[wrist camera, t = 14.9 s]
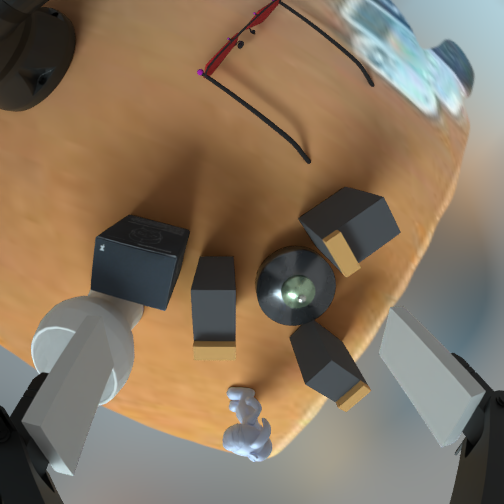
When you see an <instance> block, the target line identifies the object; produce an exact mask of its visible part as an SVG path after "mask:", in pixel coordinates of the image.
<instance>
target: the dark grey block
mask: <svg viewBox="0 0 504 504" xmlns="http://www.w3.org/2000/svg"><path fill="white" fill-rule="evenodd" d="M289 338H290V341H291V344H292V347H293V350H294V353H295V356H296V359H297V361H298V364H299V367H300V370H301V373H302V376H303V379H304V382H305V384H306V385H307V386H309V387H311V388H312V389H314V390H316V391H317V392H319V393H321V394H322V395H324V396H326V397H328V398H329V399H331V400H333V401H334V402H336V404H337V407H338V408H340V409H341V410H343V411H345V412H347V411H348V410H349V409H350V408H351V407H353V406H354V405H355V404H356V403H357V402H359V401H360V400H361V399H362V398H363V397H364V396H366V395H367V394H368V393H369V392H370V391H371V390H370V388H369V386H368V384H367V383H366V381H365V379H364V377H363V376H362V374H361V372H360V371H359V369H358V367H357V366H356V364H355V362H354V360H353V359H352V357H351V355H350V354H349V352H348V350H347V349H346V347H345V345H344V344H343V342H342V341H340V340H339V339H338V338H337V337H335V336H334V335H333V334H331V333H330V332H329V331H327V330H326V329H325V328H324V327H322V326H321V325H320V324H318V323H317V322H316V321H315V320H313V321H311V322H309V323H306V324H302V325H301V326H300V327H299V328H298V329H297V330H296V331H295V332H294V333H293V334H292V335H291V336H290V337H289Z"/></svg>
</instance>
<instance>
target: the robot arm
mask: <svg viewBox="0 0 504 504" xmlns="http://www.w3.org/2000/svg"><path fill="white" fill-rule="evenodd" d="M47 1H49V0H0V109H2V110H8V111H24V110H27V109H30V108H32V107H34V106H35V105H37V104H39V103H40V102H41V101H43V100H44V99H45V98H46V97H47V96H48V95H49V94H50V93H51V92H52V91H53V90H54V89H55V88H56V86H57V85H58V84H59V82H60V81H61V79H62V78H63V76H64V74H65V73H66V71H67V69H68V67H69V64H70V62H71V59H72V56H73V53H74V48H75V31H74V27H73V25H72V23H71V21H70V20H69V19H68V18H67V17H66V16H65V15H63V14H62V13H61V12H59V11H58V10H56V9H53V8H47V7H41V6H42V5H44V4H45V3H46V2H47ZM379 355H380V357H381V358H382V360H383V361H384V363H385V364H386V365H387V367H388V368H389V370H390V371H391V373H392V374H393V375H394V377H395V378H396V380H397V381H398V383H399V384H400V386H401V387H402V389H403V390H404V392H405V393H406V395H407V396H408V397H409V399H410V400H411V402H412V404H413V405H414V406H415V408H416V409H417V411H418V413H419V414H420V416H421V417H422V418H423V420H424V422H425V423H426V425H427V426H428V428H429V429H430V431H431V432H432V434H433V435H434V437H435V439H436V440H437V442H438V443H439V445H440V446H441V448H442V447H445V446H447V445H449V444H452V443H454V442H456V441H457V439H458V437H459V436H460V434H461V433H462V432H463V433H464V435H465V436H466V437H465V439H464V440H463V442H462V443H461V445H460V446H459V447H458V449H457V450H456V452H455V455H457V454H458V453H459V451H460V450H461V455H460V461H459V466H458V471H457V475H456V480H455V485H454V488H453V493H452V497H451V500H450V504H504V391H500V390H499V391H495V392H494V391H493V390H492V389H491V388H490V387H489V385H488V384H487V383H486V382H485V381H484V380H483V379H482V378H481V377H480V376H479V375H478V374H477V373H475V371H474V370H473V369H472V367H469V364H468V363H467V362H466V361H465V360H464V359H463V358H462V357H460V356H458V355H456V354H455V353H450V352H449V351H448V350H447V349H446V348H445V347H444V346H443V345H442V344H441V343H440V342H439V341H438V340H437V339H436V338H435V337H434V336H433V335H432V334H431V333H430V332H429V331H428V330H427V329H426V328H425V327H424V326H423V325H422V324H421V323H420V322H419V321H418V320H417V319H416V318H415V317H414V316H413V315H412V314H411V313H410V312H409V311H408V310H407V309H406V308H405V307H404V306H398V307H390V310H389V315H388V319H387V324H386V328H385V332H384V336H383V340H382V344H381V347H380V351H379ZM113 367H114V362H113V359H112V355H111V351H110V347H109V343H108V339H107V335H106V331H105V327H104V322H103V318H102V316H91V315H87V316H86V318H85V319H84V321H83V322H82V323H81V325H80V326H79V328H78V329H77V331H76V332H75V334H74V335H73V337H72V338H71V340H70V341H69V343H68V344H67V346H66V347H65V349H64V350H63V352H62V354H61V355H60V357H59V358H58V360H57V361H56V363H55V365H54V366H53V368H52V369H51V371H50V373H45V372H42V373H40V374H39V375H38V376H37V377H35V378H34V379H33V380H32V382H31V384H30V385H29V387H28V390H26V391H25V393H24V395H23V397H22V398H21V399H20V401H19V403H18V405H17V406H16V408H15V410H14V411H13V413H12V415H11V416H10V417H9V415H8V414H7V412H6V410H5V409H4V408H3V407H2V406H0V504H64V503H63V501H62V500H61V498H60V496H59V494H58V492H57V490H56V488H55V485H54V483H53V482H52V479H51V477H50V475H49V473H48V472H47V470H46V469H47V466H48V463H50V465H51V466H52V467H53V469H54V470H55V471H56V472H60V473H64V474H68V475H72V476H74V473H75V470H76V467H77V464H78V461H79V458H80V455H81V452H82V449H83V446H84V443H85V440H86V437H87V435H88V432H89V429H90V426H91V423H92V420H93V418H94V415H95V413H96V409H97V407H98V405H99V402H100V399H101V397H102V394H103V392H104V389H105V387H106V384H107V382H108V379H109V377H110V374H111V372H112V369H113Z"/></svg>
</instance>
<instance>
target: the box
mask: <svg viewBox="0 0 504 504" xmlns="http://www.w3.org/2000/svg"><path fill="white" fill-rule="evenodd" d="M189 234H190V231H189V230H187V229H184V228H180V227H176V226H172V225H169V224H165V223H161V222H157V221H153V220H149V219H145V218H141V217H137V216H133V215H128V216H126V217H125V218H123V219H122V220H120V221H119V222H117V223H116V224H114V225H113V226H111V227H110V228H108V229H107V230H105V231H104V232H102V233H101V234H100V235H98V236H97V237H96V239H95V249H94V258H93V267H92V277H91V290H93V291H96V292H100V293H103V294H106V295H110V296H113V297H116V298H120V299H124V300H127V301H130V302H134V303H138V304H142V305H145V306H149V307H153V308H156V309H160V310H164V311H165V310H166V308H167V305H168V303H169V300H170V298H171V295H172V292H173V289H174V287H175V284H176V281H177V279H178V276H179V274H180V270H181V266H182V262H183V258H184V253H185V249H186V245H187V241H188V237H189Z"/></svg>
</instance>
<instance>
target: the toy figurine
mask: <svg viewBox="0 0 504 504" xmlns="http://www.w3.org/2000/svg"><path fill="white" fill-rule="evenodd" d="M254 395H255V391H254V390H253V389H251V388H244V387H230V388H229V389H228V391H227V396H228V397H229V399H231V400H233V401H230V404H229V408H230V410H231V411H233V412H236V416H237V418H238V420H239V421H240V422H241V424H238V423H237V424H235V425H233V426H230V427H229V428H228V429H227V430H226V431H225V432H224V435H223V446H224V448H225V449H226V450H228V451H232V452H233V453H235V454H237V455H241V456H248V458H249V459H250V460H252V461H253V462H255V461H263V460H265V459H266V458H267V457H268V456H269V455H270V453H271V451H272V443H271V440H270V439H269V436H270V434H271V427H270V424H269V422H268V421H267V420H266V419H265V418H262V422H263V427H262V426H261V425H260V424H259V423H258V420H257V417H258V416H259V414H260V412H261V410H262V407H261V404H260V403H259V401H258V400H257V399H256V398H254ZM236 400H237V401H236ZM239 400H240V401H239Z"/></svg>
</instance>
